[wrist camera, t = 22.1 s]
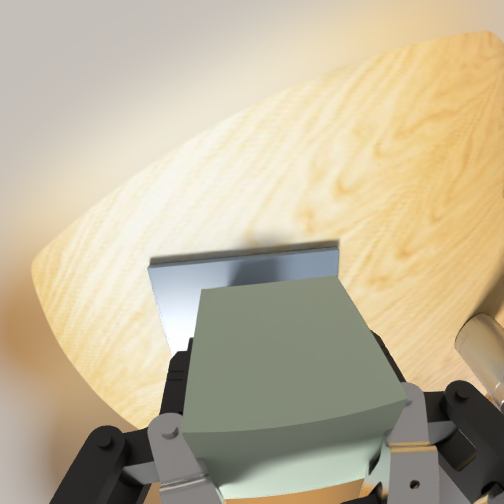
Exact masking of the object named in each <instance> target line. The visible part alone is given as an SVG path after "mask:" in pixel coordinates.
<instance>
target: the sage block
mask: <svg viewBox="0 0 504 504" xmlns="http://www.w3.org/2000/svg"><path fill="white" fill-rule="evenodd" d="M407 400H408V396H407V394H406V392H405V390H404V389H403V387H402V385H401V383H400V381H399V379H398V378H397V376H396V374H395V372H394V371H393V369H392V367H391V365H390V363H389V362H388V360H387V358H386V356H385V355H384V353H383V351H382V350H381V348H380V346H379V344H378V343H377V341H376V339H375V338H374V336H373V334H372V332H371V331H370V329H369V327H368V326H367V324H366V322H365V321H364V319H363V318H362V316H361V314H360V313H359V311H358V309H357V308H356V306H355V304H354V303H353V301H352V300H351V298H350V296H349V295H348V293H347V292H346V290H345V288H344V287H343V285H342V284H341V282H340V281H339V279H338V277H337V276H336V275H331V276H323V277H315V278H307V279H298V280H289V281H280V282H271V283H262V284H252V285H242V286H232V287H221V288H210V289H201V295H200V301H199V307H198V313H197V319H196V325H195V332H194V338H193V345H192V352H191V358H190V365H189V373H188V380H187V387H186V395H185V403H184V411H183V419H182V428H181V433H182V435H183V437H184V439H185V441H186V443H187V444H188V446H189V448H190V450H191V452H192V453H193V455H194V457H195V458H203V459H204V461H205V463H206V465H207V467H208V470H209V472H210V474H211V476H212V479H213V481H214V483H217V485H218V487H219V489H220V491H221V493H222V495H223V497H224V499H231V498H251V497H264V496H274V495H283V494H290V493H297V492H303V491H309V490H315V489H319V488H325V487H329V486H334V485H338V484H343V483H346V482H350V481H354V480H358V479H361V478H365V472H366V466H367V464H368V462H369V461H371V460H374V459H377V457H378V456H379V454H380V452H381V445H382V437H383V435H384V433H385V431H386V430H389V429H392V428H394V427H395V425H396V423H397V421H398V419H399V417H400V415H401V413H402V411H403V409H404V407H405V405H406V403H407Z"/></svg>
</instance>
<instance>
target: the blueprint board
mask: <svg viewBox="0 0 504 504" xmlns="http://www.w3.org/2000/svg"><path fill="white" fill-rule="evenodd" d="M338 259H339V249H338V248H337V247H327V248H317V249H307V250H297V251H286V252H276V253H266V254H256V255H245V256H235V257H225V258H214V259H204V260H194V261H183V262H173V263H162V264H151V265H149V266H148V268H147V269H148V273H149V277H150V281H151V285H152V289H153V292H154V296H155V300H156V303H157V307H158V310H159V314H160V317H161V321H162V324H163V327H164V330H165V334H166V337H167V340H168V343H169V346H170V349H171V352H172V355H173V356H174V355H175V354H176V352H177V351H187V348H188V342H189V338H190V337H194V332H195V325H196V319H197V313H198V307H199V301H200V295H201V289H210V288H221V287H232V286H242V285H252V284H262V283H271V282H280V281H289V280H298V279H307V278H315V277H323V276H331V275H336V276H337V277H338Z"/></svg>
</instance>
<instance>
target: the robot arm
mask: <svg viewBox="0 0 504 504" xmlns="http://www.w3.org/2000/svg"><path fill="white" fill-rule="evenodd" d="M370 331H371V332H372V334H373V336H374V338H375V339H376V341H377V343H378V344H379V346H380V348H381V350H382V351H383V353H384V355H385V356H386V358H387V360H388V362H389V363H390V365H391V367H392V369H393V371H394V372H395V374H396V376H397V378H398V379H399V381H400V383H401V385H402V387H403V389H404V390H405V392H406V394H407V396H408V400H407V403H406V405H405V407H404V409H403V411H402V413H401V415H400V417H399V419H398V421H397V423H396V425H395V427H394V428H392V429H389V430H386V431H385V433H384V435H383V437H382V445H381V452H380V454H379V456H378V457H377V459H374V460H371V461H369V462H368V464H367V466H366V472H365V479H364V483H363V486H362V489H361V492H360V497H359V498H358V499H354V500H350V501H347V502H343V503H341V504H439V467H438V466H439V465H440V466H441V467H442V468H443V470H444V471H445V472H446V473H447V475H448V476H449V477H450V478H451V479H452V481H453V482H454V483H455V484H456V485H457V487H458V488H459V489H460V490H461V492H462V493H463V494H464V495H465V496H466V498H467V499H468V500H469V501H470V503H471V504H504V328H503V327H502V326H501V325H500V324H499V323H498V322H497V321H496V320H495V319H494V318H493V317H492V316H491V315H490V316H487V315H486V314H485V313H480V314H478V315H476V316H474V317H473V318H471V319H470V320H469V321H468V322H467V323H466V324H465V325H464V327H463V328H462V329H461V331H460V332H459V334H458V336H457V338H456V341H455V349H456V350H457V352H458V353H459V354H460V355H461V357H462V358H463V359H464V361H465V362H466V363H467V365H468V366H469V367H470V368H471V370H472V371H473V372H474V374H475V375H476V376H477V378H478V379H479V381H480V382H481V383H482V385H483V386H484V387H485V389H486V390H487V392H488V393H489V394H490V396H491V397H492V399H493V400H494V401H495V403H496V404H497V406H498V407H499V409H500V410H501V412H502V413H503V414H502V413H501V412H500V411H499V410H498V409H497V408H496V407H495V406H494V405H493V404H492V403H491V402H490V401H489V400H488V399H487V398H486V397H485V396H484V395H483V394H481V393H480V392H479V391H478V390H477V389H476V388H475V387H474V386H473V385H472V384H470V383H469V382H466V381H462V380H457V381H454V382H451V383H450V384H449V385H448V386H447V388H446V389H445V391H439V392H422V390H421V389H420V388H419V387H418V386H416V385H414V384H412V383H408V382H406V380H405V378H404V377H403V375H402V373H401V372H400V370H399V368H398V366H397V365H396V363H395V361H394V360H393V358H392V356H391V355H390V353H389V351H388V349H387V348H385V344H384V343H383V341H382V339H381V338H380V336H378V335H377V334H376V333H374V332H373V331H372V330H370ZM193 338H194V337H190V338H189V342H188V348H187V351H177V352H176V354H175V355H174V356H173V358H172V359H171V360H170V364H169V369H168V374H167V379H166V380H167V381H166V383H165V388H164V393H163V399H162V404H161V409H160V413H159V416H157V417H156V418H154V419H153V420H152V421H151V422H150V424H149V426H148V427H146V428H144V429H141V430H137V431H133V432H127V433H122V432H121V431H120V430H119V429H118V428H116V427H114V426H108V425H107V426H101V427H98V428H97V429H95V430H93V431H92V432H91V433H90V435H89V436H88V438H87V440H86V441H85V443H84V445H83V446H82V448H81V450H80V451H79V453H78V455H77V457H76V458H75V460H74V461H73V463H72V465H71V466H70V468H69V470H68V472H67V473H66V475H65V477H64V479H63V480H62V482H61V484H60V486H59V488H58V489H57V491H56V493H55V494H54V497H53V498H52V500H51V501H50V503H49V504H143V503H144V500H145V498H146V496H147V493H148V491H149V489H150V486H151V484H152V483H155V482H161V487H160V488H159V493H160V498H161V501H162V504H227V503H226V501H225V499H224V497H223V495H222V493H221V491H220V489H219V487H218V485H217V483H214V481H213V479H212V476H211V474H210V472H209V470H208V467H207V465H206V463H205V461H204V459H203V458H195V457H194V455H193V453H192V452H191V450H190V448H189V446H188V444H187V443H186V441H185V439H184V437H183V435H182V433H181V428H182V419H183V411H184V403H185V395H186V387H187V380H188V373H189V365H190V358H191V352H192V345H193ZM458 429H460V431H461V432H462V433H463V434H464V435H465V436H466V437H467V438H468V439H469V440H470V441H471V443H472V444H473V445H474V446H475V447H476V448H475V447H474V446H473V445H472V444H471V443H470V442H469V440H468V439H466V437H465V436H464V435H463V434H462V433H461V432H460V431H459V430H458Z"/></svg>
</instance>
